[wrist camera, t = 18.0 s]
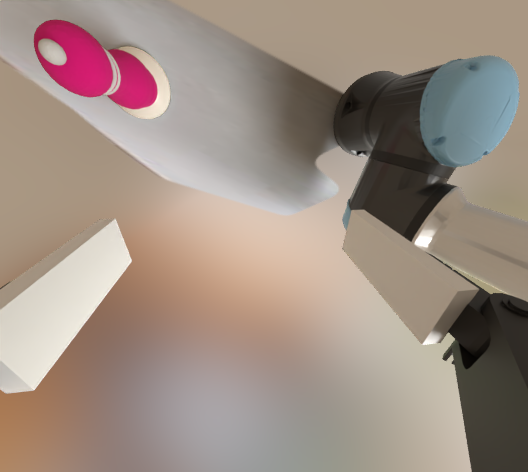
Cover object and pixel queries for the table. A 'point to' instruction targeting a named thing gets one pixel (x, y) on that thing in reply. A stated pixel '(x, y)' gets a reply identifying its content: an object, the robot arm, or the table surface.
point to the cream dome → (161, 81)
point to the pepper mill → (92, 66)
